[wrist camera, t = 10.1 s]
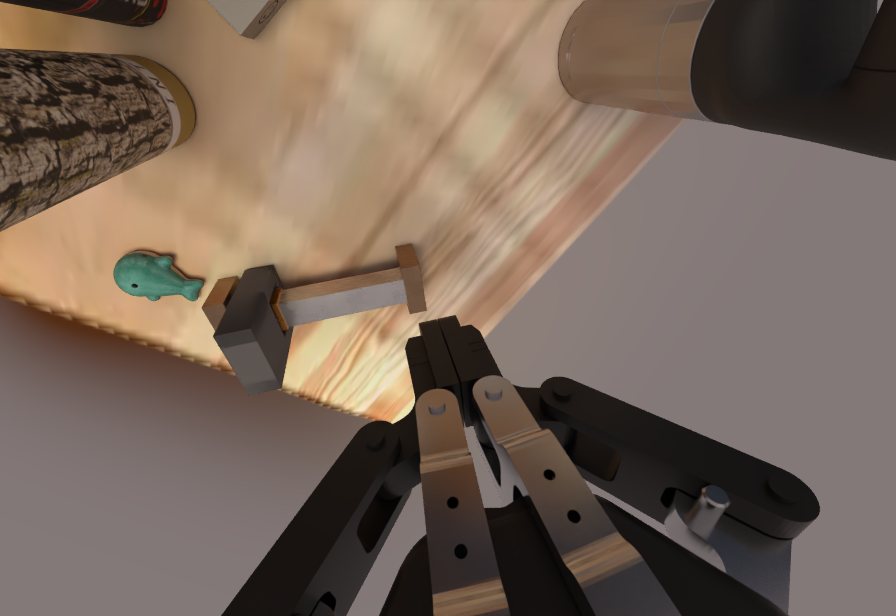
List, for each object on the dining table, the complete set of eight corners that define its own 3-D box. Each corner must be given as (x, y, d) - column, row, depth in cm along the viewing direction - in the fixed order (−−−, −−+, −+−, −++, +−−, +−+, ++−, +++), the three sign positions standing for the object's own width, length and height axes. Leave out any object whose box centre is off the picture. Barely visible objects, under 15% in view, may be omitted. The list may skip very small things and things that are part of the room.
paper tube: (193, 159, 33) (-37, 301, 13) (99, 126, 31) (-372, 242, 10) (202, 81, 31) (-69, 112, 10) (101, 36, 28) (-542, -39, 8)
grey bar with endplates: (411, 243, 43) (419, 265, 38) (418, 286, 47) (426, 310, 42) (218, 279, 40) (201, 307, 35) (240, 322, 44) (228, 352, 39)
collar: (272, 265, 40) (250, 328, 31) (295, 318, 44) (281, 388, 35) (244, 270, 40) (212, 336, 30) (270, 323, 44) (249, 395, 34)
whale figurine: (132, 234, 36) (112, 250, 33) (213, 267, 39) (202, 284, 36) (116, 279, 38) (96, 298, 35) (195, 306, 41) (183, 326, 38)
